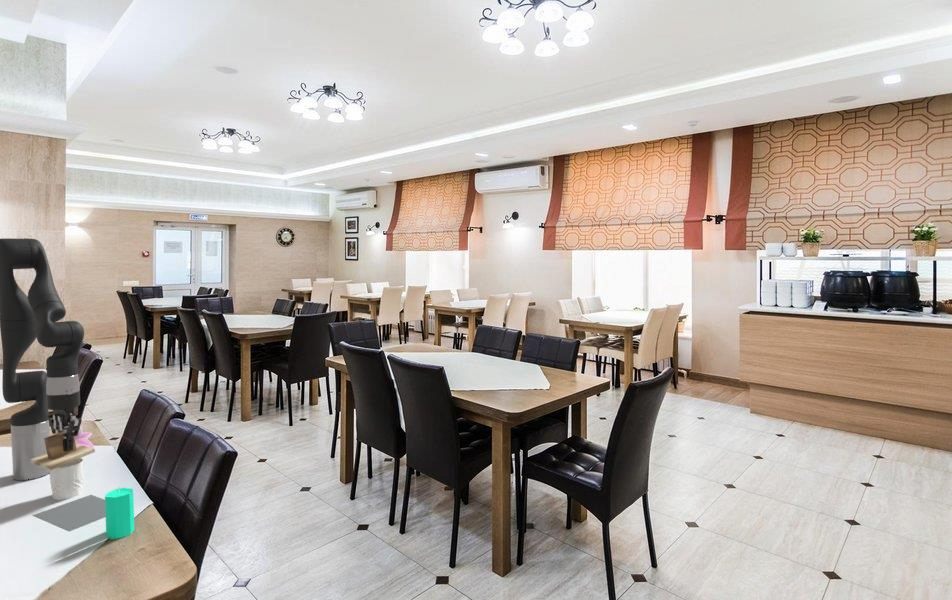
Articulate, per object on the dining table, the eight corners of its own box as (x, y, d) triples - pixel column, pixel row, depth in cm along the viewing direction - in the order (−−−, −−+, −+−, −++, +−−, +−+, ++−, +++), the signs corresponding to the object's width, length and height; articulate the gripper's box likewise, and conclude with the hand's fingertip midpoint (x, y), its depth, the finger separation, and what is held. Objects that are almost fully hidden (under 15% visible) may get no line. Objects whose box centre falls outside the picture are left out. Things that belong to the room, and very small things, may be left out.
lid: (30, 462, 146) (25, 439, 145) (74, 445, 156) (69, 424, 155) (51, 469, 141) (46, 446, 140) (95, 451, 151) (90, 429, 150)
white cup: (63, 490, 154) (61, 457, 153) (91, 490, 154) (89, 457, 154) (43, 502, 146) (41, 468, 145) (72, 502, 146) (71, 467, 146)
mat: (32, 517, 137) (32, 515, 137) (90, 496, 150) (90, 494, 150) (69, 533, 129) (69, 531, 129) (127, 509, 142) (127, 508, 142)
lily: (51, 462, 177) (63, 439, 177) (45, 442, 184) (57, 419, 184) (90, 463, 187) (102, 441, 186) (83, 443, 194) (95, 422, 193)
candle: (120, 540, 126) (118, 492, 126) (99, 537, 128) (98, 490, 127) (140, 528, 132) (139, 482, 132) (121, 525, 134) (119, 480, 133)
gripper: (34, 390, 148) (37, 450, 149) (60, 396, 141) (63, 458, 143) (65, 385, 154) (67, 442, 155) (91, 390, 148) (93, 449, 149)
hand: (65, 449), depth 149 cm, fingers closed on lid, 2 cm apart
